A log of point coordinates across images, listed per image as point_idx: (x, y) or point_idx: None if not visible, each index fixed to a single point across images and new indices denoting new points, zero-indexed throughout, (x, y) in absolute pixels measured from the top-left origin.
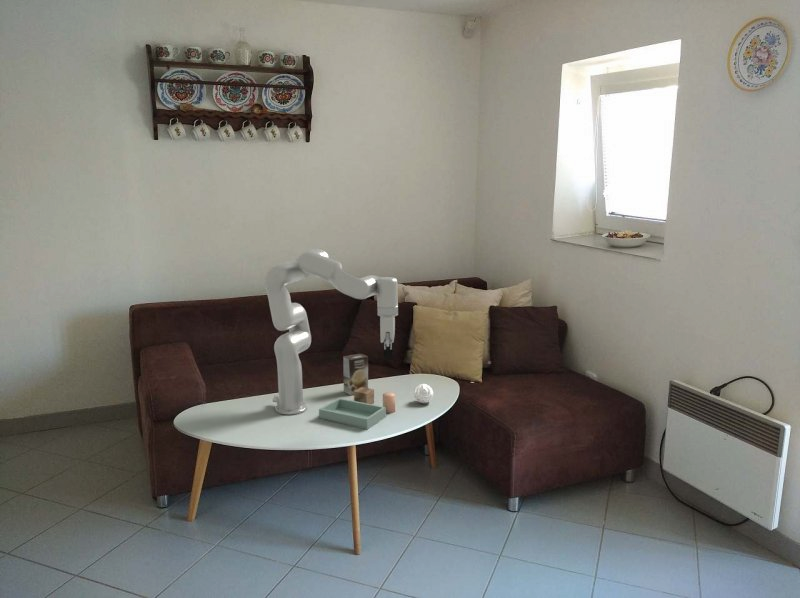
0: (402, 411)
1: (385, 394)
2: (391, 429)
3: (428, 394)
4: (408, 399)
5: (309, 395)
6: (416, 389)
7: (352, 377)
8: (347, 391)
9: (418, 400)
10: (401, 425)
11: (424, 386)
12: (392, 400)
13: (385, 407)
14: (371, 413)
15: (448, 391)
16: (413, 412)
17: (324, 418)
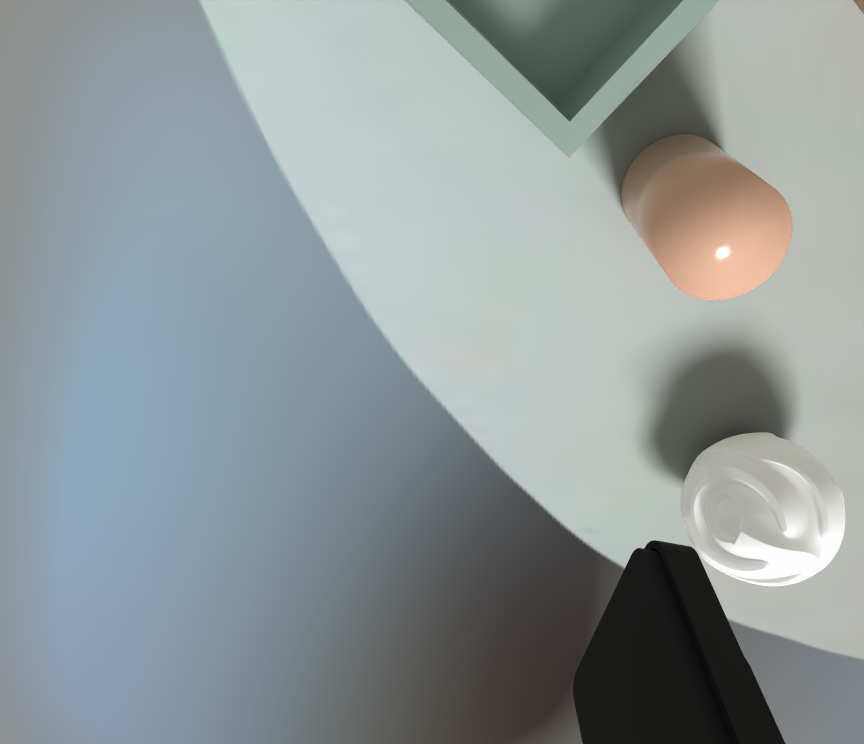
0: (624, 289)
1: (742, 206)
2: (276, 124)
3: (702, 534)
4: (846, 383)
5: None
6: (798, 486)
7: None
8: None
9: (715, 443)
10: (345, 221)
11: (766, 556)
12: (651, 247)
13: (562, 151)
14: (646, 7)
15: (850, 633)
16: (575, 360)
17: None
